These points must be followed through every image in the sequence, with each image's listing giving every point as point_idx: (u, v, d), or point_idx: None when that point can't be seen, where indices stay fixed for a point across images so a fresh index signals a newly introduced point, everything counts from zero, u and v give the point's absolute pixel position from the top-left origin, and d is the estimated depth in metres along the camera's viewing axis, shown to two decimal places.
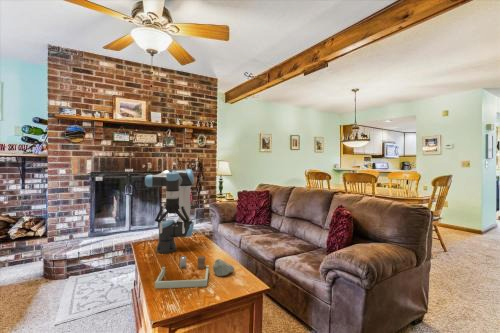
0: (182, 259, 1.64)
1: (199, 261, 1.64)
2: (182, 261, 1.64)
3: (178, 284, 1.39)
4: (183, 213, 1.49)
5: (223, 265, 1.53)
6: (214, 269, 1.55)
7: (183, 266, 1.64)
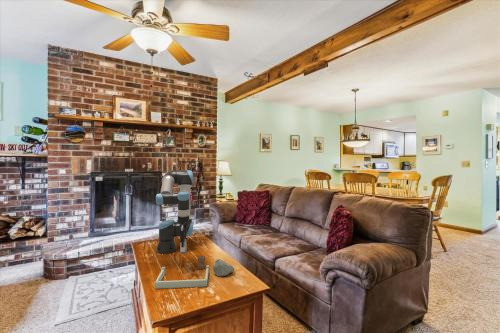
0: None
1: (199, 261, 1.64)
2: None
3: (178, 284, 1.39)
4: (180, 233, 1.61)
5: (223, 265, 1.53)
6: (214, 269, 1.55)
7: None
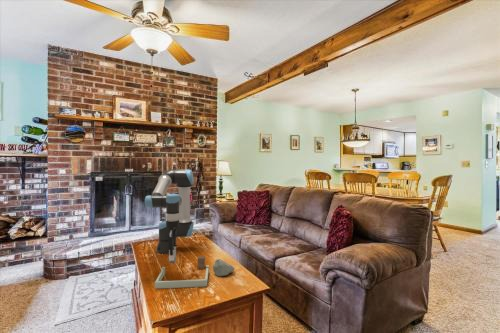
0: None
1: (199, 262, 1.64)
2: None
3: (178, 284, 1.39)
4: None
5: (223, 265, 1.53)
6: (214, 269, 1.55)
7: None
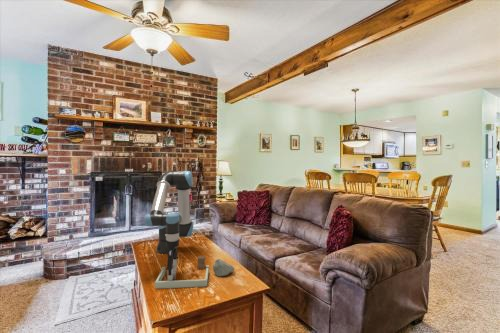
0: None
1: (199, 262, 1.64)
2: None
3: (178, 284, 1.39)
4: (168, 259, 1.42)
5: (223, 265, 1.53)
6: (214, 269, 1.55)
7: None
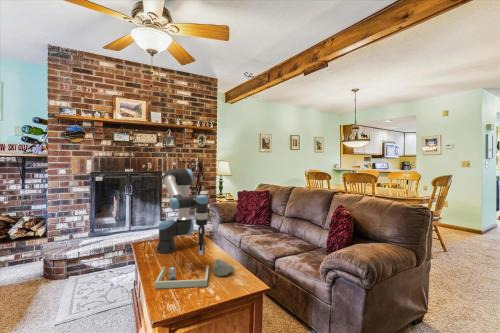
0: (171, 270, 1.47)
1: None
2: (171, 272, 1.47)
3: (178, 284, 1.39)
4: (199, 236, 1.61)
5: (223, 265, 1.53)
6: (214, 269, 1.55)
7: (172, 278, 1.47)
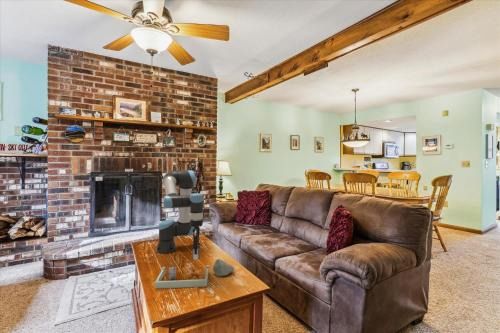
0: (171, 270, 1.47)
1: None
2: (171, 272, 1.47)
3: (178, 284, 1.39)
4: (193, 239, 1.45)
5: (223, 265, 1.53)
6: (214, 269, 1.55)
7: (172, 278, 1.47)
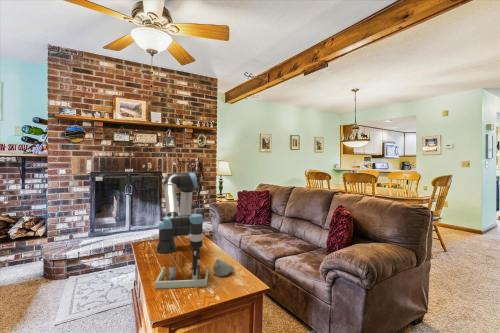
0: (171, 270, 1.47)
1: None
2: (171, 272, 1.47)
3: (178, 284, 1.39)
4: None
5: (223, 265, 1.53)
6: (214, 269, 1.55)
7: (172, 278, 1.47)
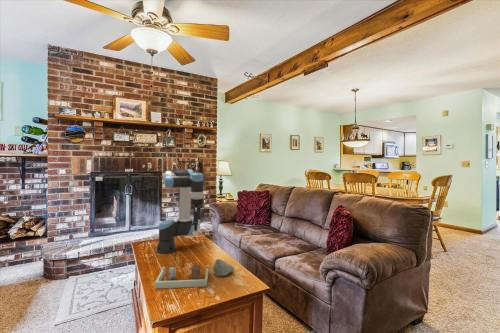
0: (171, 270, 1.47)
1: (193, 272, 1.48)
2: (171, 272, 1.47)
3: (178, 284, 1.39)
4: None
5: (223, 265, 1.53)
6: (214, 269, 1.55)
7: (172, 278, 1.47)
